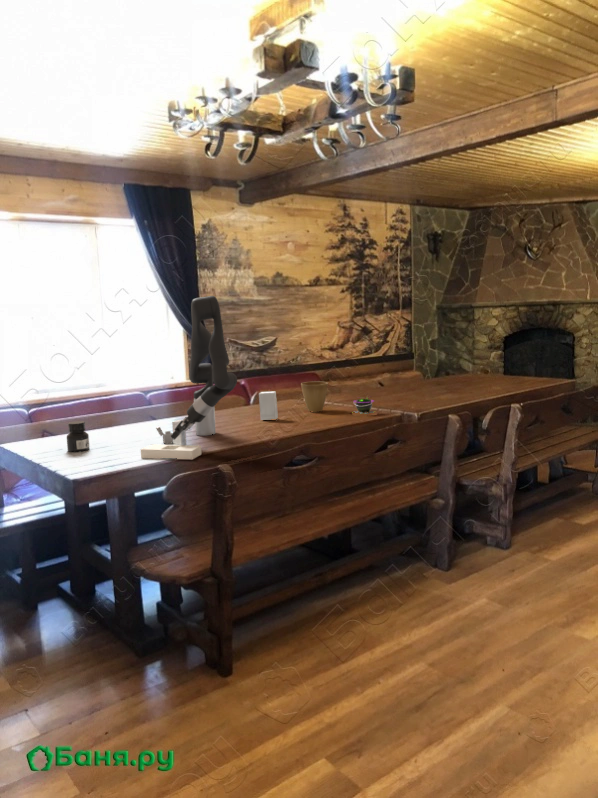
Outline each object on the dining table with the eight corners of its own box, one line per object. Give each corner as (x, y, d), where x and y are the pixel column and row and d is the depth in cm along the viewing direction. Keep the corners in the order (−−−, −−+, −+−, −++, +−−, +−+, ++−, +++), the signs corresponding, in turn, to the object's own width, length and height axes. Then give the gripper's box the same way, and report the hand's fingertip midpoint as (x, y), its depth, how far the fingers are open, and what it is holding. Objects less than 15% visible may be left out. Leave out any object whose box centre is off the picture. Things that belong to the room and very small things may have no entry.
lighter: (172, 442, 281) (170, 424, 279) (173, 442, 279) (172, 424, 278) (156, 444, 277) (155, 426, 276) (158, 444, 275) (157, 426, 274)
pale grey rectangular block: (179, 447, 268) (177, 419, 266) (186, 447, 267) (185, 420, 266) (173, 450, 263) (172, 422, 262) (181, 450, 262) (180, 422, 261)
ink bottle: (82, 452, 264) (80, 424, 263) (63, 452, 266) (60, 424, 264) (93, 447, 274) (91, 420, 272) (75, 447, 275) (72, 420, 274)
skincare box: (278, 419, 331) (277, 391, 329) (275, 421, 325) (274, 392, 323) (262, 419, 333) (261, 391, 331) (259, 421, 327) (258, 392, 325)
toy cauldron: (344, 415, 338) (344, 394, 336) (358, 411, 350) (358, 391, 348) (369, 417, 329) (369, 396, 328) (383, 412, 341) (382, 392, 340)
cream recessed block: (151, 452, 260) (151, 444, 259) (201, 454, 254) (201, 445, 254) (141, 457, 251) (140, 449, 251) (192, 459, 246) (191, 450, 245)
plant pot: (300, 410, 359) (299, 382, 357) (326, 408, 360) (325, 381, 358) (303, 414, 344) (302, 385, 342) (330, 412, 346) (329, 383, 343)
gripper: (201, 399, 267) (176, 427, 272) (186, 404, 254) (161, 433, 258) (213, 412, 267) (188, 439, 272) (199, 418, 253) (174, 446, 258)
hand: (175, 436), depth 265 cm, fingers closed on pale grey rectangular block, 5 cm apart
